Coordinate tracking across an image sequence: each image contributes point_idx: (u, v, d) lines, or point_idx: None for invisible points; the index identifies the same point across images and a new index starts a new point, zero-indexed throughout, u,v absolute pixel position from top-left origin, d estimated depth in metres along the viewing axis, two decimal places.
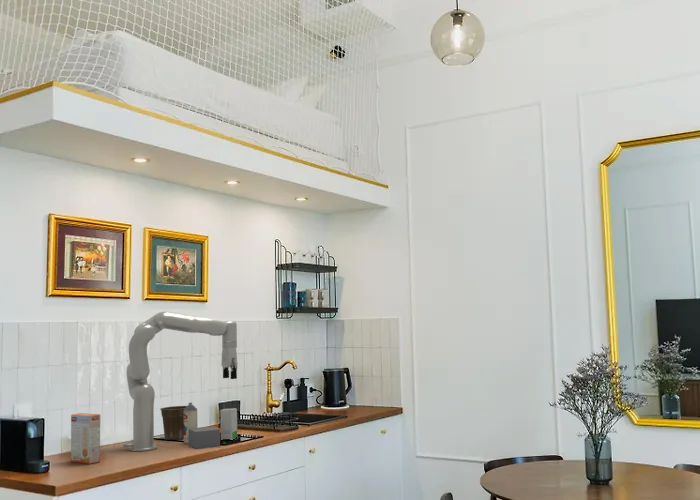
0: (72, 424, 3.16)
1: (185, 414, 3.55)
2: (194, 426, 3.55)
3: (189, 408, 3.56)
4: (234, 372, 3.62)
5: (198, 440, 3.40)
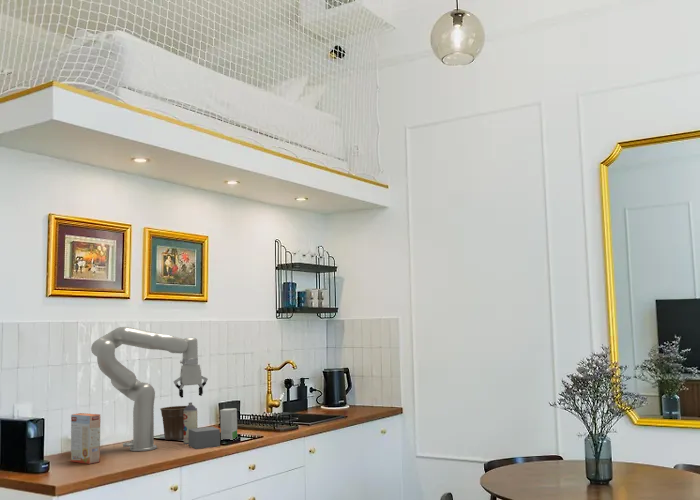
0: (72, 424, 3.16)
1: (185, 414, 3.55)
2: (194, 426, 3.55)
3: (189, 408, 3.56)
4: None
5: (198, 440, 3.40)
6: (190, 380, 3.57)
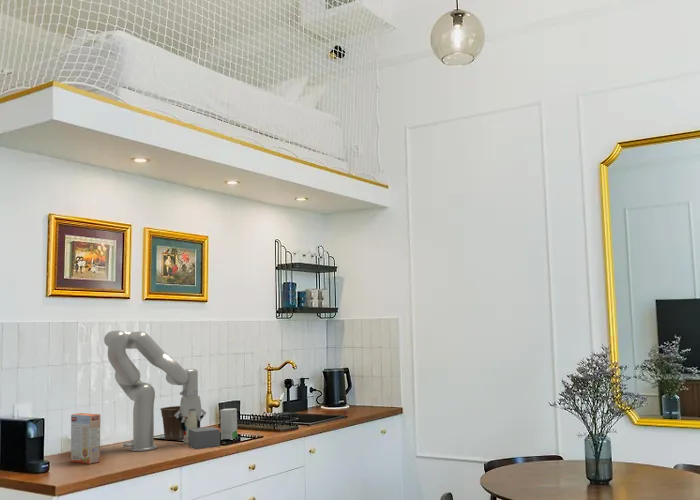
0: (72, 424, 3.16)
1: None
2: (194, 426, 3.55)
3: None
4: None
5: (198, 440, 3.40)
6: None
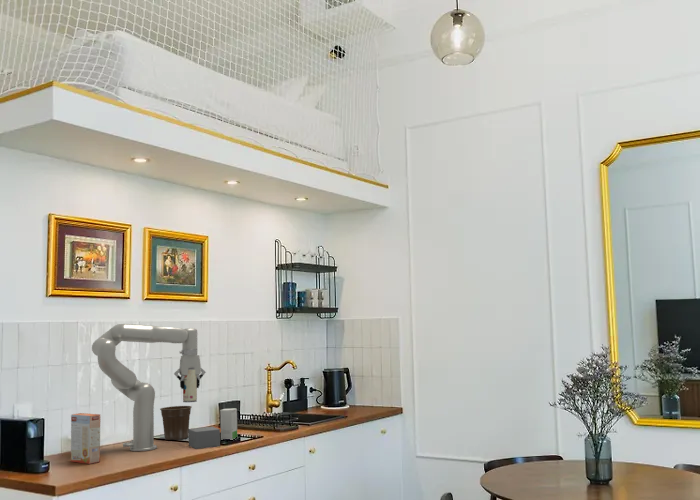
0: (72, 424, 3.16)
1: None
2: (193, 384, 3.57)
3: None
4: None
5: (198, 440, 3.40)
6: None
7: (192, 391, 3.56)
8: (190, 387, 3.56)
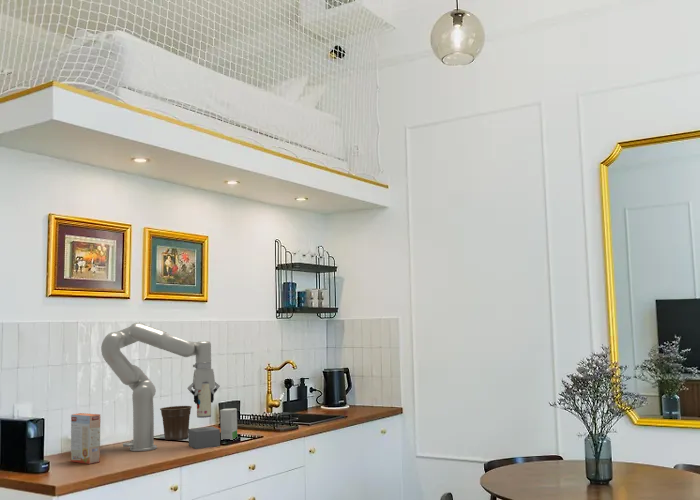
0: (72, 424, 3.16)
1: None
2: (207, 399, 3.47)
3: None
4: None
5: (198, 440, 3.40)
6: None
7: (206, 406, 3.46)
8: (204, 402, 3.46)
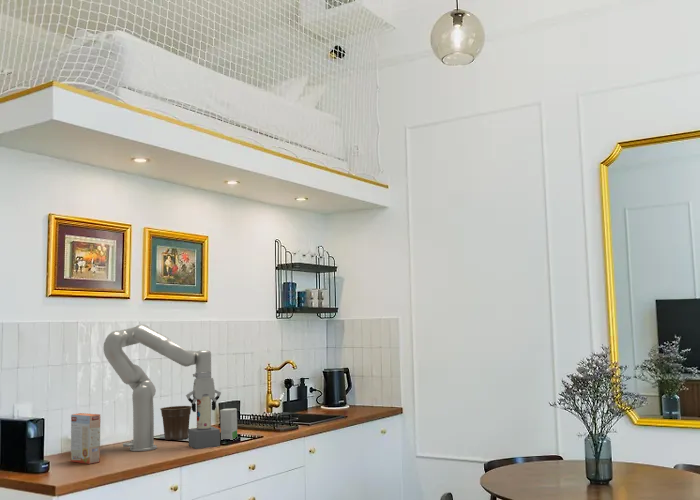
0: (72, 424, 3.16)
1: None
2: (207, 412, 3.46)
3: None
4: None
5: (198, 440, 3.40)
6: (203, 394, 3.46)
7: (206, 419, 3.45)
8: (204, 414, 3.45)
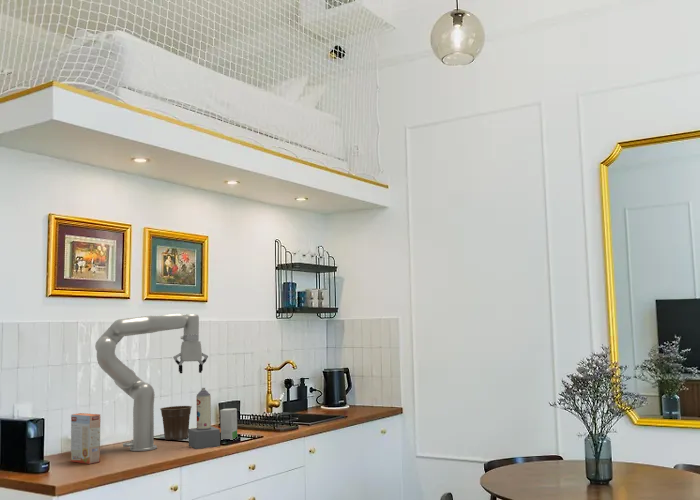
0: (72, 424, 3.16)
1: (198, 399, 3.46)
2: (207, 412, 3.46)
3: (202, 393, 3.47)
4: None
5: (198, 440, 3.40)
6: (190, 356, 3.55)
7: (206, 419, 3.45)
8: (204, 414, 3.45)
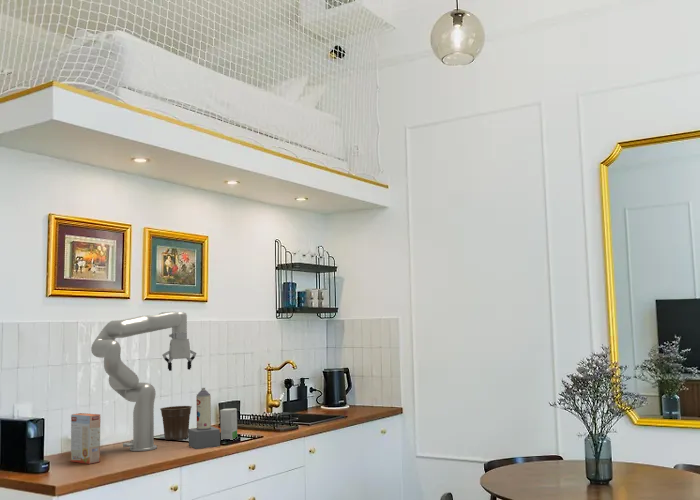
0: (72, 424, 3.16)
1: (198, 399, 3.46)
2: (207, 412, 3.46)
3: (202, 393, 3.47)
4: None
5: (198, 440, 3.40)
6: (179, 354, 3.61)
7: (206, 419, 3.45)
8: (204, 414, 3.45)
